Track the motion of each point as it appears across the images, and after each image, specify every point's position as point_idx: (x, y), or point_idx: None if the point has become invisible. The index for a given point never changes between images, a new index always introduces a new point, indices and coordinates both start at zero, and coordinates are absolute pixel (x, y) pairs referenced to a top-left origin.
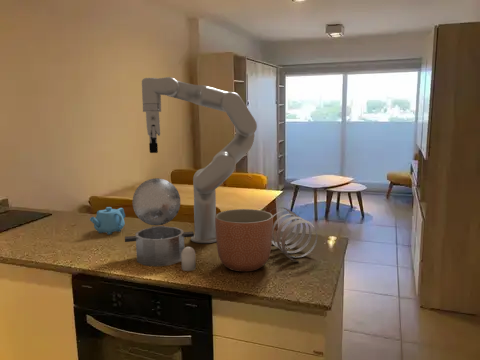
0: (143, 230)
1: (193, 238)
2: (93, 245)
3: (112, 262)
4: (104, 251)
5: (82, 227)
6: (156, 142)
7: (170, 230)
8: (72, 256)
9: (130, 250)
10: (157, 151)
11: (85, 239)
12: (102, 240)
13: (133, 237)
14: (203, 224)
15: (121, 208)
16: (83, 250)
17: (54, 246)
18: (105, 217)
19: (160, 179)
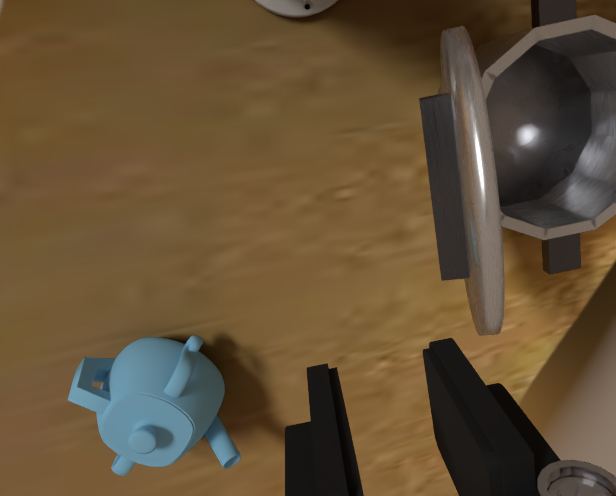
0: (505, 215)
1: (318, 2)
2: (340, 381)
3: (523, 281)
4: (410, 332)
5: (115, 477)
6: (609, 482)
7: None
8: None
9: (411, 251)
10: (456, 346)
11: (269, 424)
12: (284, 370)
13: (569, 239)
14: None
15: (79, 393)
16: (390, 395)
17: None
18: (206, 420)
19: (496, 188)
